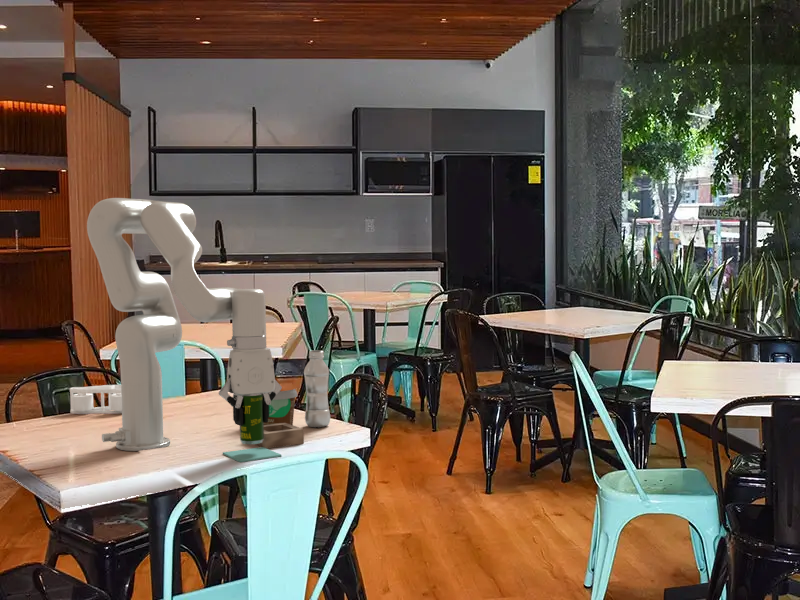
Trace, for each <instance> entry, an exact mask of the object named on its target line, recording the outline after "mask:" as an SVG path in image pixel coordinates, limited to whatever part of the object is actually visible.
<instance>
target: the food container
mask: <svg viewBox="0 0 800 600" xmlns="http://www.w3.org/2000/svg"><path fill="white" fill-rule="evenodd" d="M296 397H298V391H297V389H296V388H293V389H289V390H288V389H287V390H280V391H279V392H278V393H277V394H276V396H275V397H274V398H273V400H272V401H271V404H270V405H269V418H268V422H266V423H265V422H263V423H264V425H270V424H279V423H288V424H290V425H293V426H294V414H295V402H296Z"/></svg>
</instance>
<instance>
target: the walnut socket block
mask: <svg viewBox="0 0 800 600" xmlns="http://www.w3.org/2000/svg"><path fill="white" fill-rule="evenodd" d="M304 432H305V429H304V428H302V427H299V426H296V425H294V424H293V425H290V424H288V423H279V424H270V425H264V440H263V442H262V443H258V444H254V445H255V446H258V447H264V448H266V449H274V448H281V447H289V446H296V445H297V446H298V445H303V444H304V443H305V435H304V434H305V433H304Z"/></svg>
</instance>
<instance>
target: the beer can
mask: <svg viewBox="0 0 800 600" xmlns="http://www.w3.org/2000/svg"><path fill="white" fill-rule="evenodd" d="M241 408H243V425H242V426H239V440H240V443H241V444H243V445H255V444H258V443H262V442H263V440H264V423H263V394H252V395H243V399H242V402H241Z"/></svg>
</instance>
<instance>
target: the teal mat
mask: <svg viewBox="0 0 800 600" xmlns="http://www.w3.org/2000/svg"><path fill="white" fill-rule="evenodd" d="M222 455H223V456H225V457H228V458H230V459H232V460H235V461H237V462H238V463H245V462H253V461H260V460H265V459H273V458H279V457H282V454H280V453H279V452H276V451H274V450H271V449H270V448H268V449H266V448H264V447H260V446H258V447H252V448H246V449H237V450H232V451H223V452H222Z"/></svg>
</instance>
